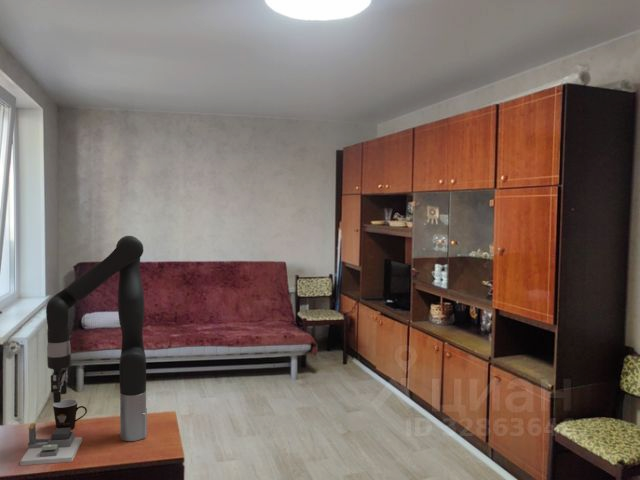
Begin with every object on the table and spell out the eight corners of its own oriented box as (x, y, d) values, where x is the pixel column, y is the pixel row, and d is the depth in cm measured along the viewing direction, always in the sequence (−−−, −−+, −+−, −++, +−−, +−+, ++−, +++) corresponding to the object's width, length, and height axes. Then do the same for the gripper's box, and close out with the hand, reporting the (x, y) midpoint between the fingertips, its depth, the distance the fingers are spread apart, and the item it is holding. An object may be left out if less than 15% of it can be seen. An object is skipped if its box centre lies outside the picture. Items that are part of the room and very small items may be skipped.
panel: (81, 441, 203) (81, 430, 203) (72, 461, 188) (71, 450, 187) (34, 444, 200) (34, 433, 199) (20, 465, 184) (20, 454, 184)
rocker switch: (57, 447, 191) (57, 443, 191) (55, 449, 189) (55, 446, 189) (43, 448, 190) (43, 444, 190) (41, 450, 188) (41, 447, 188)
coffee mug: (48, 430, 211) (47, 405, 211) (66, 422, 219) (65, 397, 219) (71, 436, 207) (71, 410, 206) (88, 427, 215) (88, 402, 214)
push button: (70, 435, 201) (70, 427, 201) (67, 441, 196) (67, 433, 196) (55, 436, 200) (55, 428, 200) (51, 442, 195) (51, 434, 194)
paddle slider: (36, 441, 198) (36, 423, 197) (34, 446, 194) (33, 427, 194) (30, 442, 197) (30, 423, 197) (28, 446, 194) (27, 427, 193)
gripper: (65, 358, 189) (67, 404, 191) (74, 347, 203) (76, 390, 204) (41, 359, 188) (43, 406, 189) (52, 348, 202) (54, 391, 203)
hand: (60, 398), depth 197 cm, fingers open, 8 cm apart
